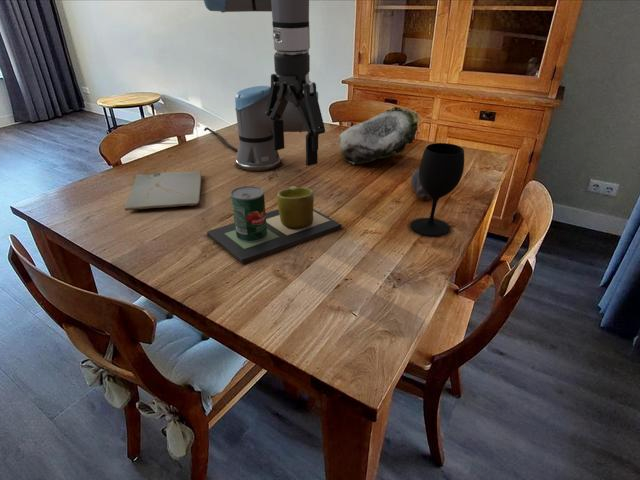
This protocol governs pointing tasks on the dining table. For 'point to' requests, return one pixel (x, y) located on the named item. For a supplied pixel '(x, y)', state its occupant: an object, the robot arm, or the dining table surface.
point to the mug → (295, 207)
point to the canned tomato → (249, 213)
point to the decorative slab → (164, 190)
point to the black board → (271, 236)
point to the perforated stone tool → (418, 186)
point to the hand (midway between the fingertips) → (294, 156)
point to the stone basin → (379, 136)
